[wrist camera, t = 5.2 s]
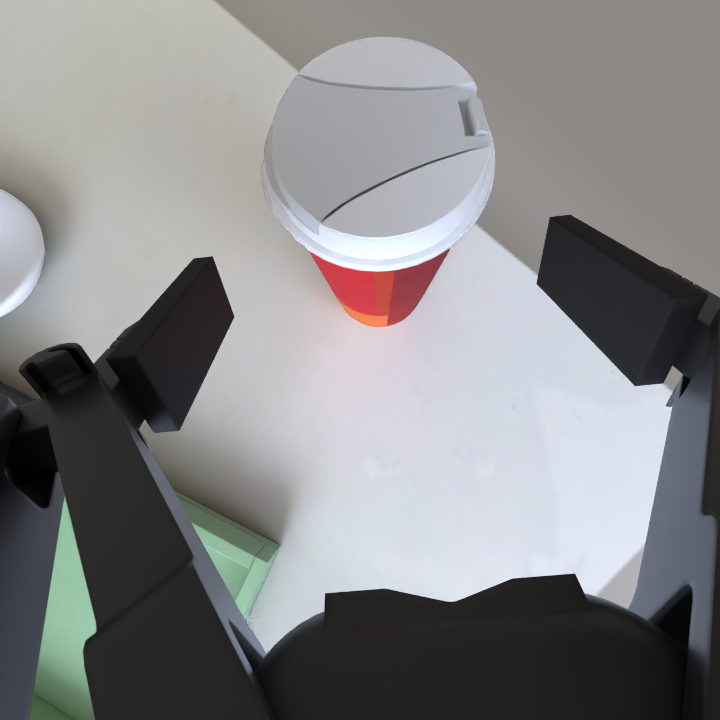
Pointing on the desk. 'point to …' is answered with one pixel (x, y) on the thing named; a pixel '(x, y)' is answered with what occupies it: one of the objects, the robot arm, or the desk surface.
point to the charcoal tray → (15, 395)
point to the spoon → (18, 252)
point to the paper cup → (379, 169)
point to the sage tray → (76, 618)
